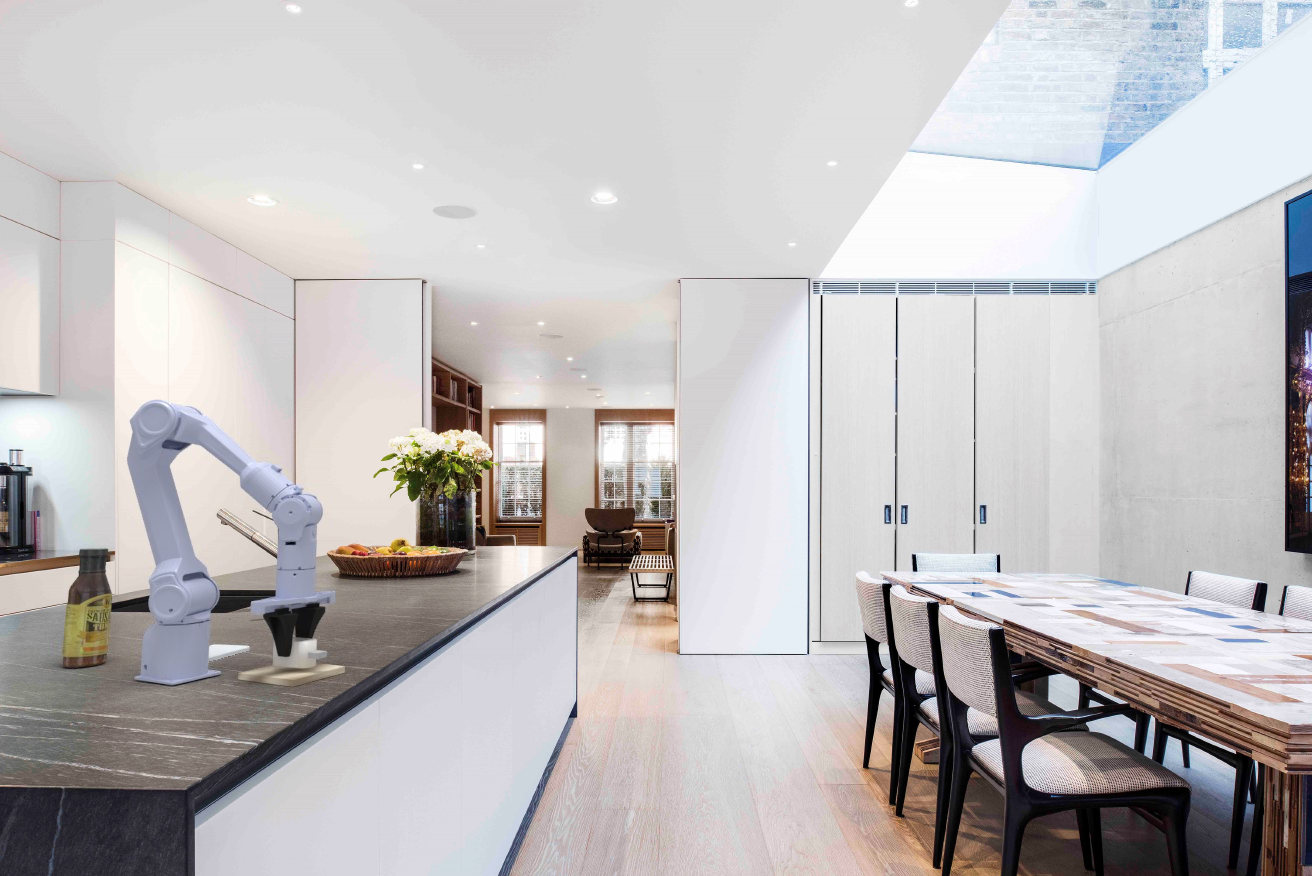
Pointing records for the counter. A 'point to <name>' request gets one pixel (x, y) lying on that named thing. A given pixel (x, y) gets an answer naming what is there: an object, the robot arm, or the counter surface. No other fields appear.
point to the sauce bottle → (88, 612)
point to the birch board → (290, 674)
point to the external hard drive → (225, 651)
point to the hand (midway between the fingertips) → (293, 654)
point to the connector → (300, 654)
